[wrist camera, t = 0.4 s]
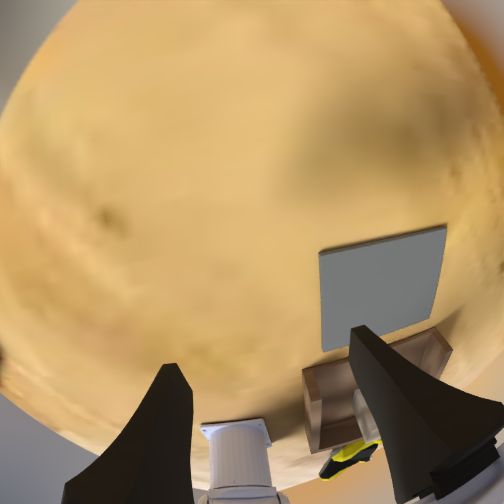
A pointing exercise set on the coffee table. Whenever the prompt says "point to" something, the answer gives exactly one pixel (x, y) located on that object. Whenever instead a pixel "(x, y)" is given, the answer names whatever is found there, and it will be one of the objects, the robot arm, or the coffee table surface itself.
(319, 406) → the crate
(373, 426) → the block
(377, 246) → the mat
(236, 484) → the robot arm
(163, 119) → the coffee table surface
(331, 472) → the gaming controller
